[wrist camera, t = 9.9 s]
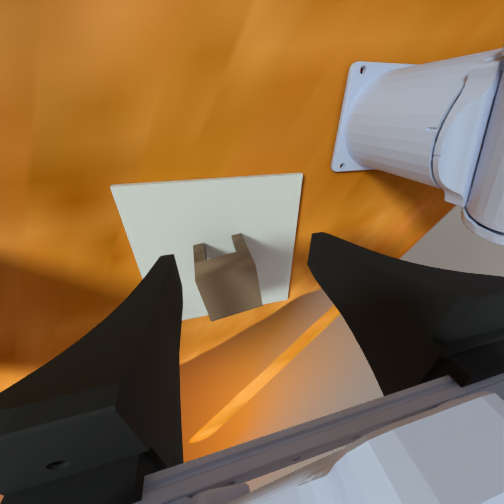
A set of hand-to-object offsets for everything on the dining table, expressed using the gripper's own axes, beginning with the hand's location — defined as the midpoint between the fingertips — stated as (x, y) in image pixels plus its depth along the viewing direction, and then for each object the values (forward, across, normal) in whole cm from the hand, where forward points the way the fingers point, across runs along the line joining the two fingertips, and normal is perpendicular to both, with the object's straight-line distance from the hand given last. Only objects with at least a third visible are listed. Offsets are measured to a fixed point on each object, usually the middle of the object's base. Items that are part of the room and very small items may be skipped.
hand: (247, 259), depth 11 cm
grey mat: (+10, +1, +6) cm, 12 cm away
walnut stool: (+10, 0, +6) cm, 12 cm away
